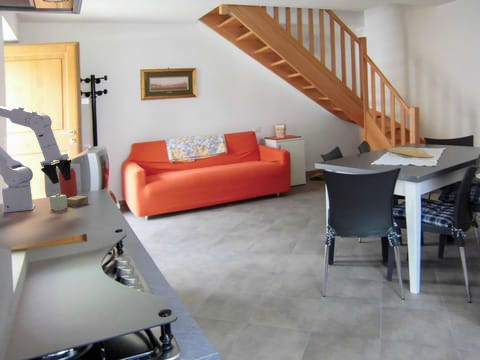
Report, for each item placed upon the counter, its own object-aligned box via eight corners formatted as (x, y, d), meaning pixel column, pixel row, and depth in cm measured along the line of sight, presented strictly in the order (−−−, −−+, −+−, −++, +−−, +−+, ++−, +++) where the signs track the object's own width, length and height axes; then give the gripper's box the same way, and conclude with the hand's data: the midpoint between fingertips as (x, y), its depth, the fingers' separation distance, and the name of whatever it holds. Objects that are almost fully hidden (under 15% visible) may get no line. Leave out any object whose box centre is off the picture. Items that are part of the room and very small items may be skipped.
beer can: (61, 196, 180) (59, 168, 178) (78, 194, 182) (75, 167, 180) (60, 199, 174) (57, 170, 172) (77, 197, 176) (74, 169, 174)
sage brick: (58, 210, 154) (57, 195, 153) (50, 210, 156) (49, 195, 155) (67, 208, 157) (65, 193, 156) (59, 207, 159) (58, 192, 158)
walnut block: (76, 207, 159) (75, 199, 159) (64, 206, 162) (64, 198, 161) (88, 204, 164) (87, 196, 164) (77, 203, 167) (76, 195, 167)
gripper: (70, 139, 153) (83, 175, 155) (47, 148, 161) (59, 181, 163) (53, 144, 147) (67, 181, 149) (30, 152, 155) (43, 187, 157)
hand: (62, 181), depth 156 cm, fingers open, 7 cm apart
